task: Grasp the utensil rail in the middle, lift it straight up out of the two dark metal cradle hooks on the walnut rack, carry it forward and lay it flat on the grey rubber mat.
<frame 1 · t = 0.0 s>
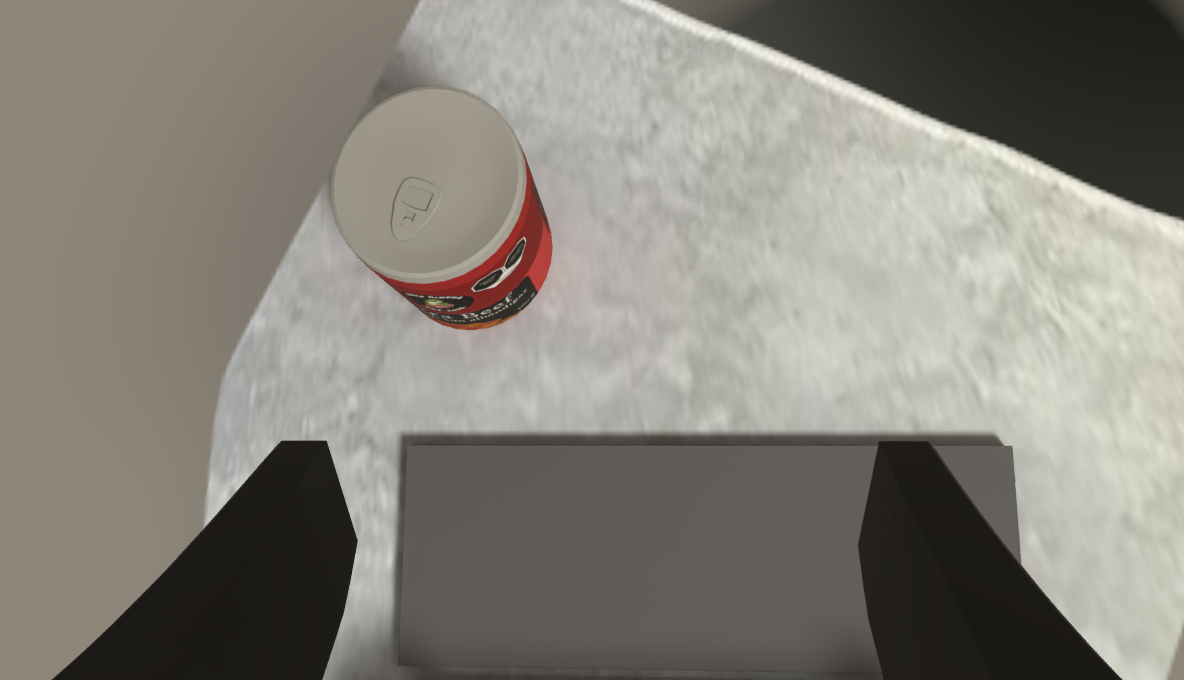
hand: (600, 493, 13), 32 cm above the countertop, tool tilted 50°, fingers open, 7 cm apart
canned food: (479, 257, 47), on the countertop
mat: (704, 554, 44), on the countertop
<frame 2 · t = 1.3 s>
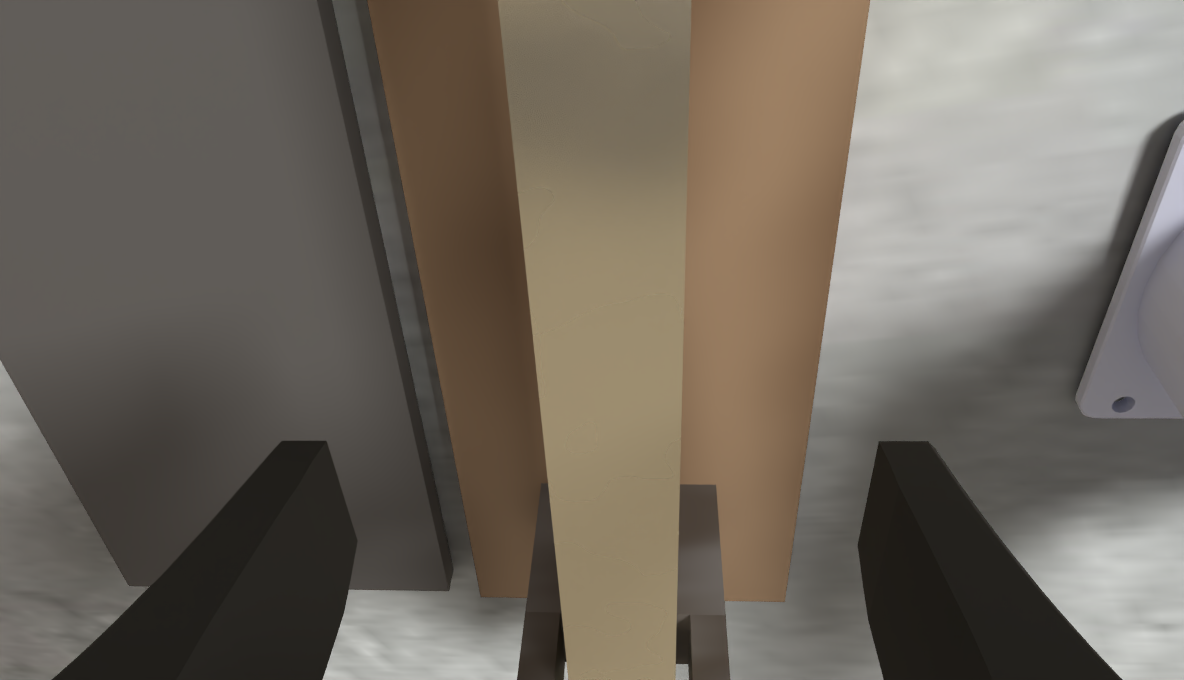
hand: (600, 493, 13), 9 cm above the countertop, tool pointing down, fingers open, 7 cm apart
rail: (614, 297, 16), point 5 cm above the countertop, touching rack
rack: (621, 157, 20), on the countertop
mat: (141, 164, 21), on the countertop
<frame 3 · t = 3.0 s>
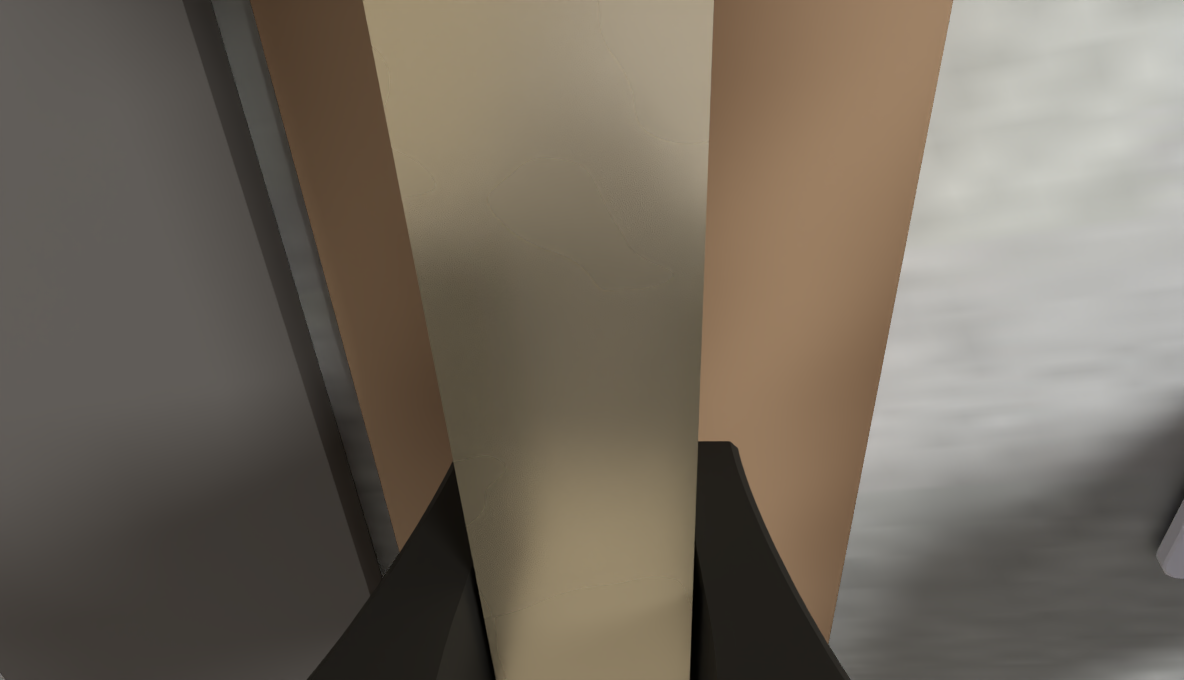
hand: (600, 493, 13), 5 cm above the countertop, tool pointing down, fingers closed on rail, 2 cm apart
rail: (599, 516, 12), point 5 cm above the countertop, touching gripper, rack
rack: (611, 291, 16), on the countertop
mat: (24, 296, 17), on the countertop
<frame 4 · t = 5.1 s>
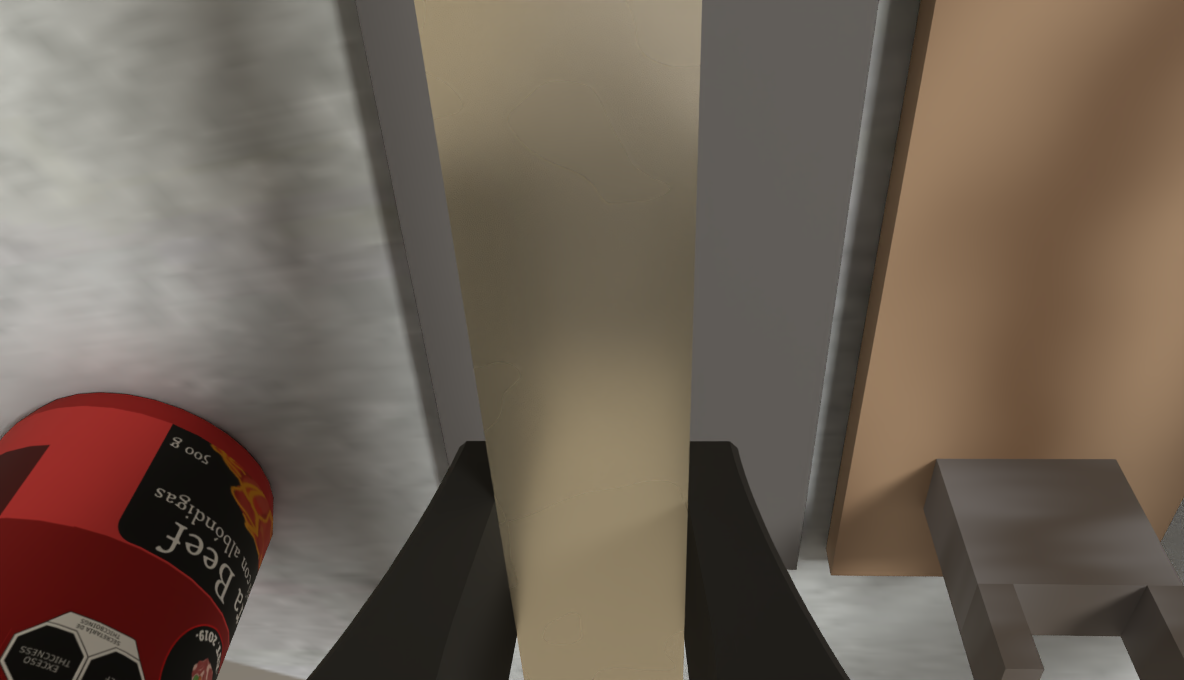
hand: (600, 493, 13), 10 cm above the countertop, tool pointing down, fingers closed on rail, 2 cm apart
rail: (602, 444, 13), point 9 cm above the countertop, touching gripper
rack: (1114, 127, 20), on the countertop
canned food: (153, 473, 29), on the countertop
mat: (619, 137, 21), on the countertop
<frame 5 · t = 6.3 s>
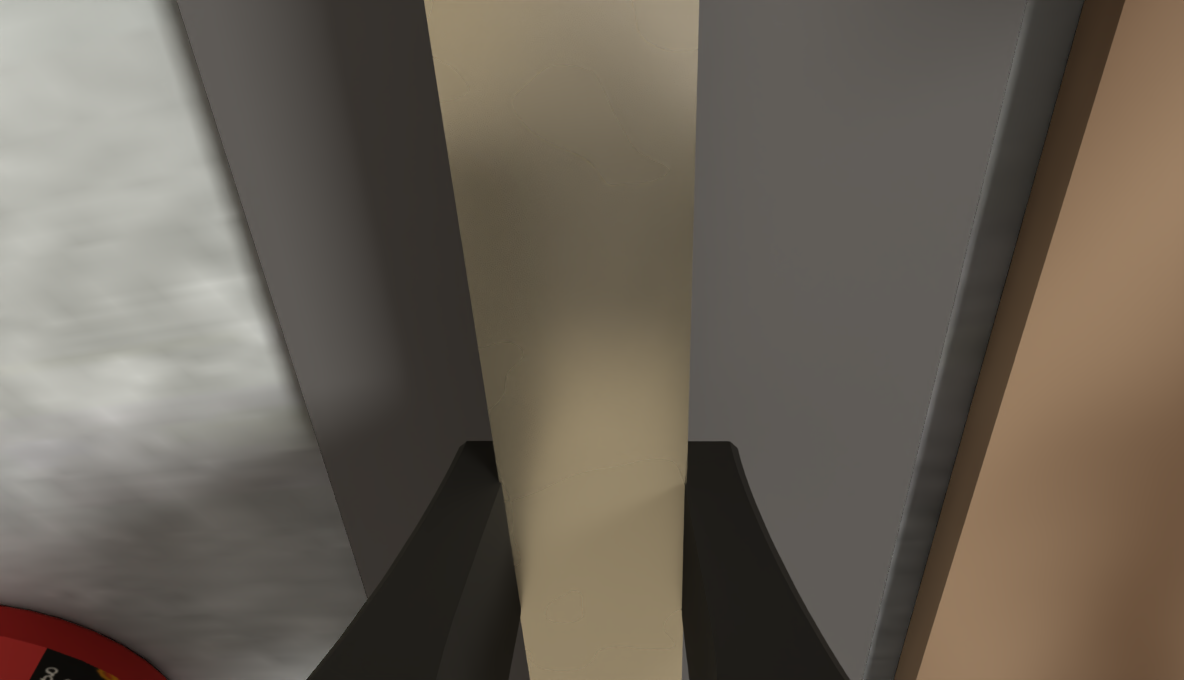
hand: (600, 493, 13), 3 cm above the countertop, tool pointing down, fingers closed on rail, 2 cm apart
rail: (603, 428, 13), point 2 cm above the countertop, touching gripper
mat: (610, 334, 15), on the countertop
when the fingers open (2 cm above the countertop, at t = 7.2 s): rail stays where it is, resting on mat.
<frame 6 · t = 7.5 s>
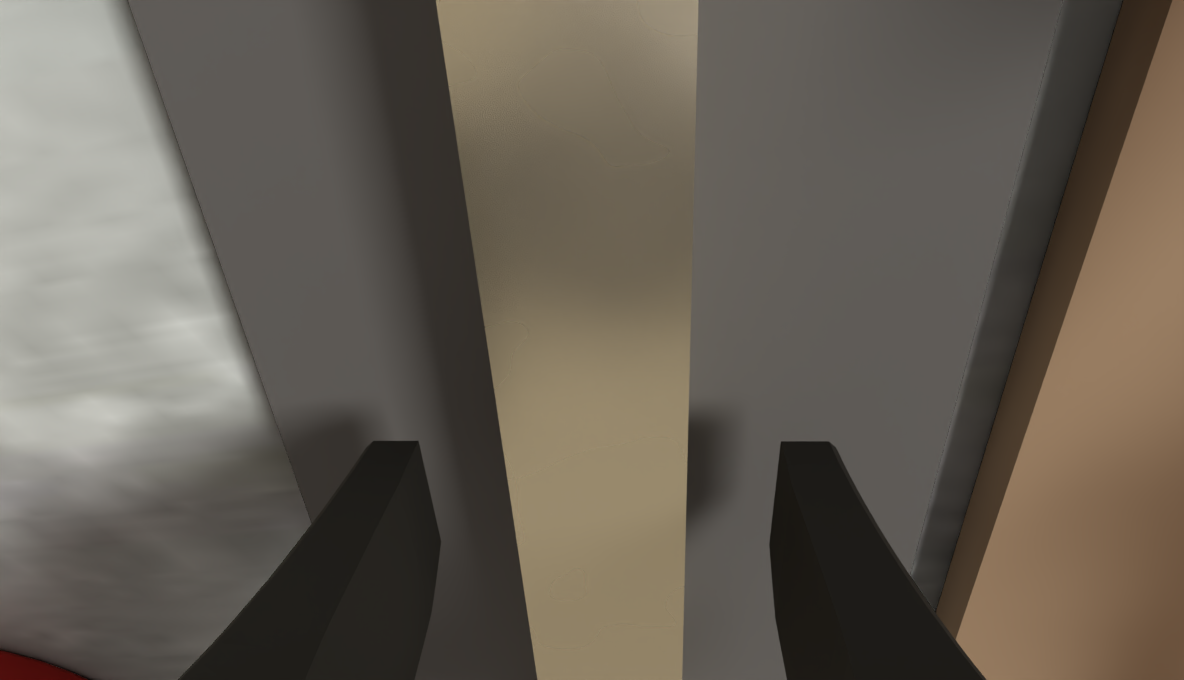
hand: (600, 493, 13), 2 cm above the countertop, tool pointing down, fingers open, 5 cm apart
rail: (605, 411, 14), point 1 cm above the countertop, touching mat
mat: (606, 375, 14), on the countertop
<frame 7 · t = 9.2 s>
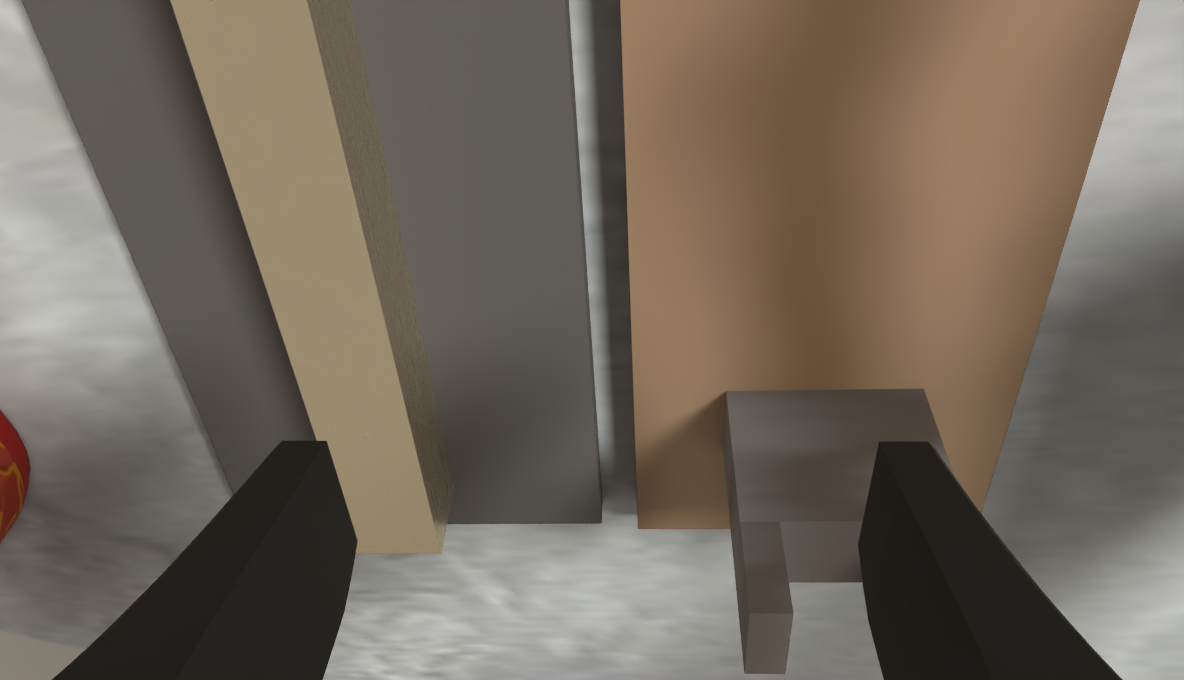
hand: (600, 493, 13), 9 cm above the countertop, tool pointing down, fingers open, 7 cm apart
rail: (297, 27, 17), point 1 cm above the countertop, touching mat
mat: (308, 11, 18), on the countertop
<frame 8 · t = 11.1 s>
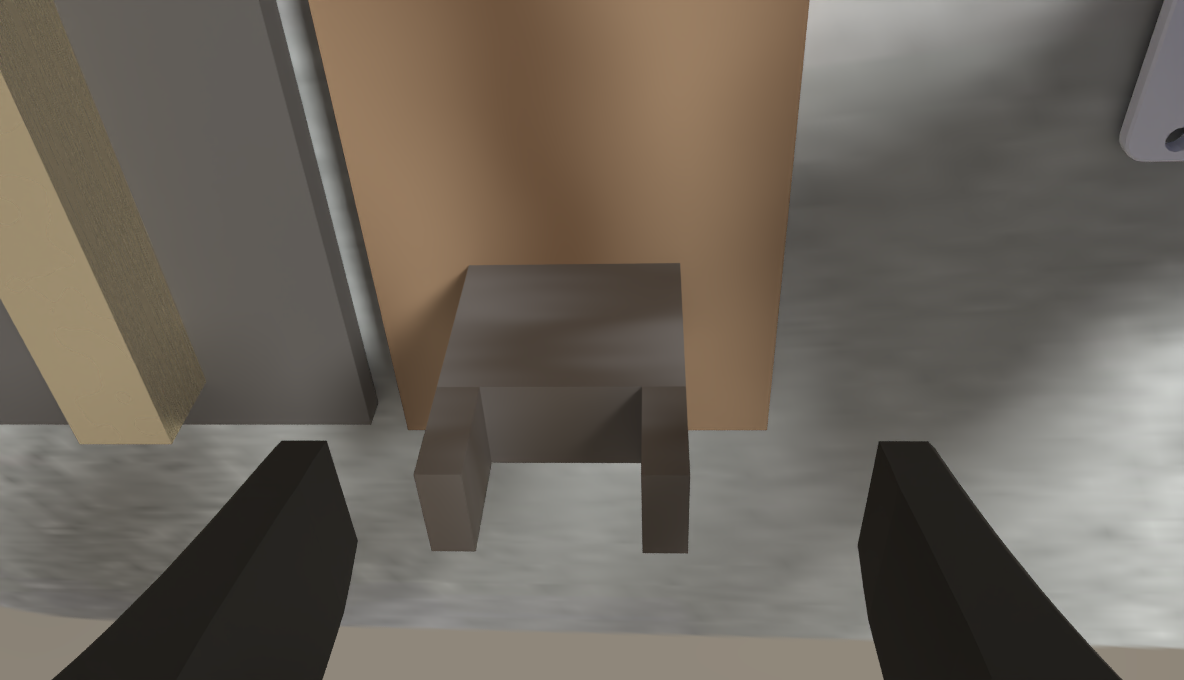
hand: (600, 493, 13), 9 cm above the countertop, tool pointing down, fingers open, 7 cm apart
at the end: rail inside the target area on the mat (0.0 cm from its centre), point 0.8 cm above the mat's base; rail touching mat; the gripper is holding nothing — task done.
